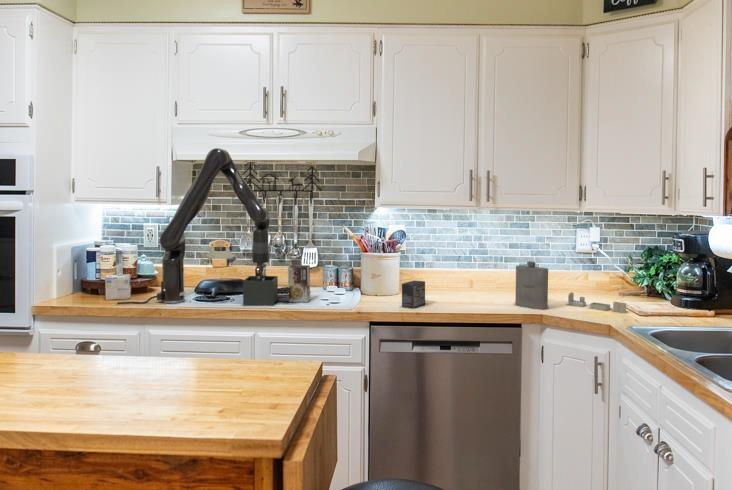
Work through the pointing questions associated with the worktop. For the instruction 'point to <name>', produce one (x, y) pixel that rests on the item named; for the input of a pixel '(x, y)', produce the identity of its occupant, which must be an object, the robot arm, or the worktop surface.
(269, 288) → the waste bin
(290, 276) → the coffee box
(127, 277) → the light bulb box
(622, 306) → the bathroom set
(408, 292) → the small box
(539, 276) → the flask
